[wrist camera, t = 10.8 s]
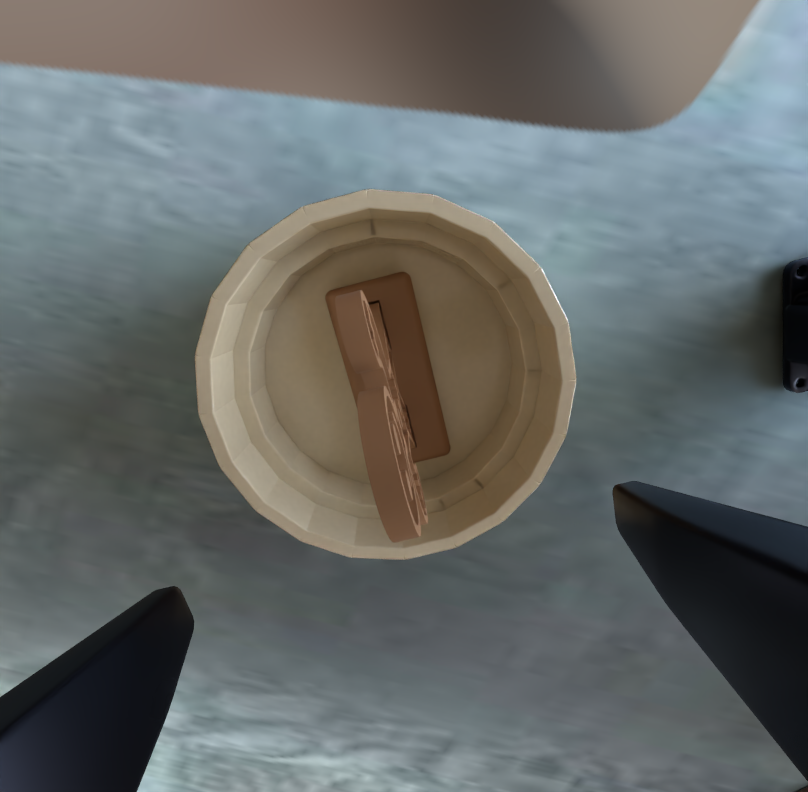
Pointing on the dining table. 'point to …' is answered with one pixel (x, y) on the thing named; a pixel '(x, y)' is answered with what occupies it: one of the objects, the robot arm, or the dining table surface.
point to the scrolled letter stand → (390, 394)
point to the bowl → (329, 385)
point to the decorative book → (804, 790)
